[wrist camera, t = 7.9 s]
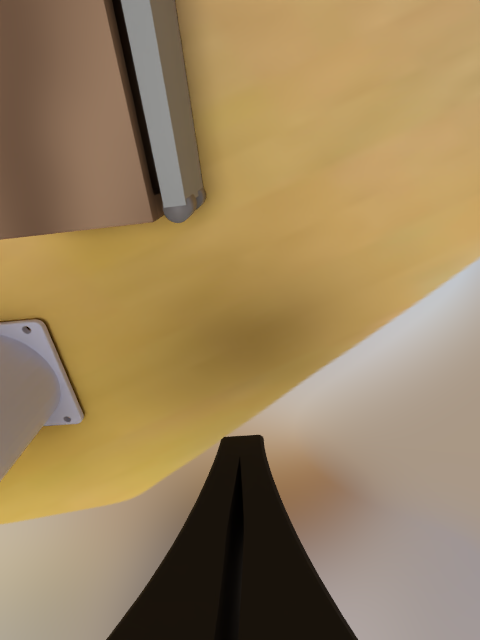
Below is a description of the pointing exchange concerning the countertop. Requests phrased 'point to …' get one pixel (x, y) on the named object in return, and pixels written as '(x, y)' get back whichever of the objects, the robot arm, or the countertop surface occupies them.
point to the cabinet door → (166, 103)
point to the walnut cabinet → (71, 121)
